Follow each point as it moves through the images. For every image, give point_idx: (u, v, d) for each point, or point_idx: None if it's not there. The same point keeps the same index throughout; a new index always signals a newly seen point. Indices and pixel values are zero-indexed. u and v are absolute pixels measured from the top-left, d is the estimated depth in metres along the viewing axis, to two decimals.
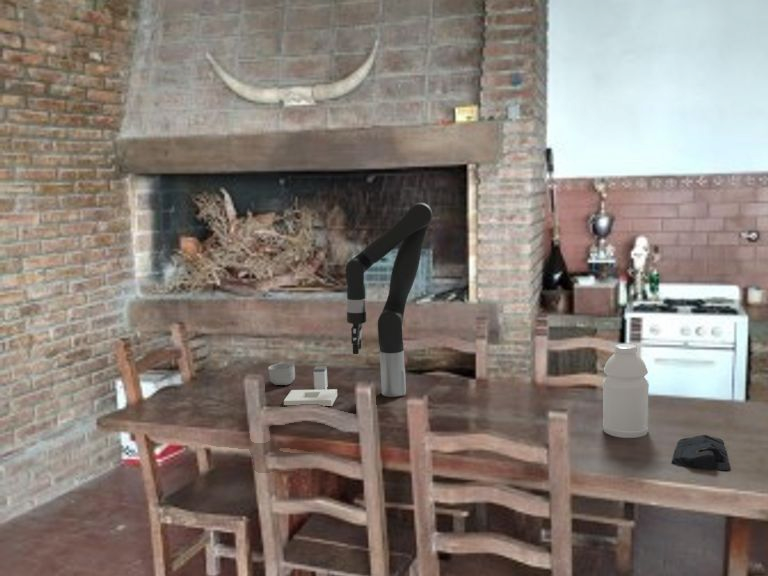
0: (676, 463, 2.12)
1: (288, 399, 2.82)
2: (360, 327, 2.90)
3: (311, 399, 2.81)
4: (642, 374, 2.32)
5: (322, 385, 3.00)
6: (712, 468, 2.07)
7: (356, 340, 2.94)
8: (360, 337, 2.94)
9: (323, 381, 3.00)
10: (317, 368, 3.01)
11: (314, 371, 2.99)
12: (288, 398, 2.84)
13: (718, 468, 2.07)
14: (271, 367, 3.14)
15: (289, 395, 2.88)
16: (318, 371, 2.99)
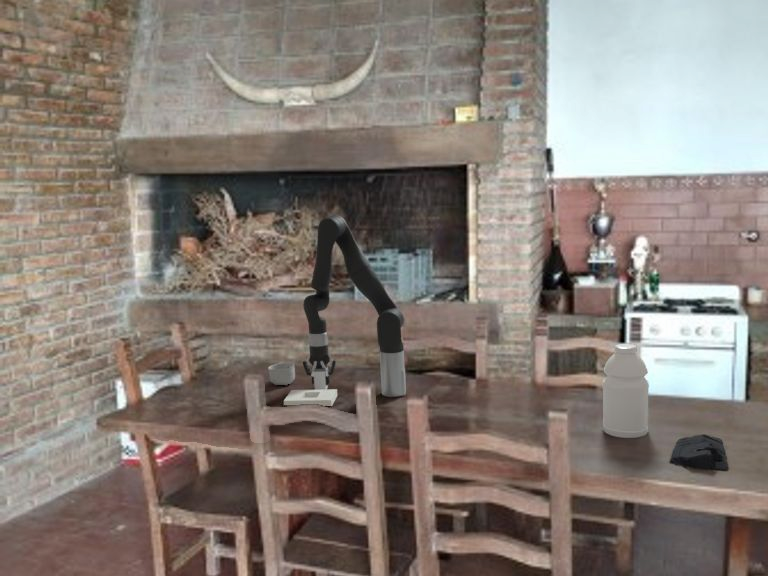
0: (674, 462, 2.13)
1: (288, 399, 2.82)
2: None
3: (311, 399, 2.81)
4: (642, 374, 2.32)
5: (322, 385, 3.00)
6: (710, 467, 2.07)
7: None
8: None
9: (323, 381, 3.00)
10: (317, 368, 3.01)
11: (314, 371, 2.99)
12: (288, 398, 2.84)
13: (716, 467, 2.07)
14: (271, 367, 3.14)
15: (289, 395, 2.88)
16: (318, 371, 2.99)
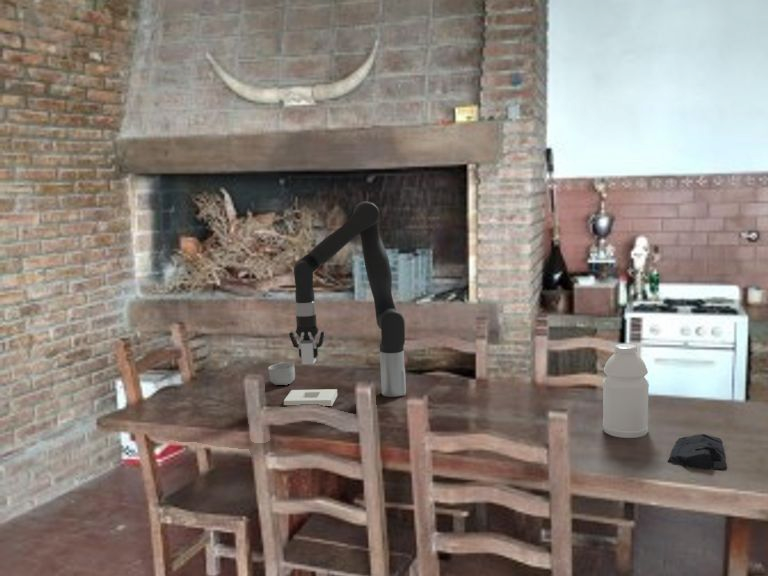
0: (672, 461, 2.13)
1: (288, 399, 2.82)
2: None
3: (311, 399, 2.81)
4: (642, 374, 2.32)
5: (310, 357, 2.82)
6: (708, 467, 2.08)
7: None
8: None
9: (311, 353, 2.82)
10: (304, 340, 2.83)
11: (301, 343, 2.81)
12: (288, 398, 2.84)
13: (714, 467, 2.08)
14: (271, 367, 3.14)
15: (289, 395, 2.88)
16: (305, 343, 2.81)
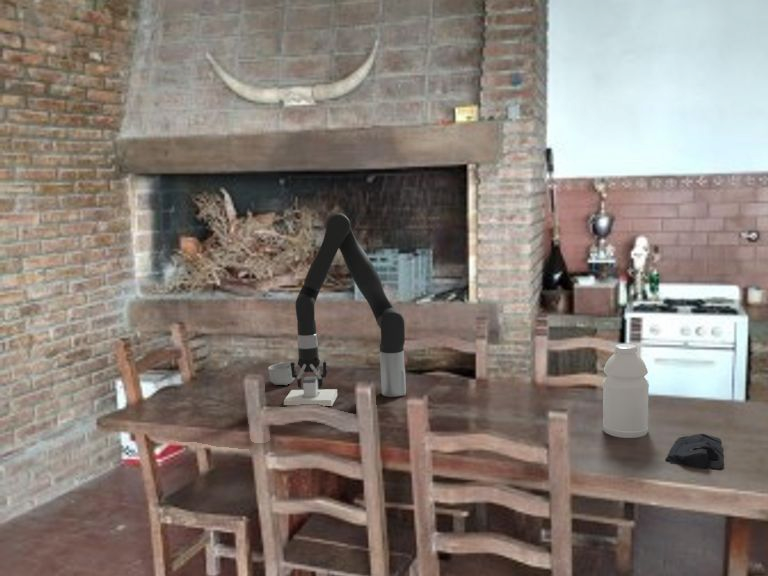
0: (670, 461, 2.14)
1: (288, 399, 2.82)
2: None
3: (311, 399, 2.81)
4: (642, 374, 2.32)
5: (312, 397, 2.84)
6: (705, 466, 2.08)
7: (300, 379, 2.86)
8: (301, 375, 2.87)
9: (313, 393, 2.84)
10: (307, 379, 2.85)
11: (304, 382, 2.84)
12: (288, 398, 2.84)
13: (711, 466, 2.08)
14: (271, 367, 3.14)
15: (289, 395, 2.88)
16: (308, 382, 2.84)
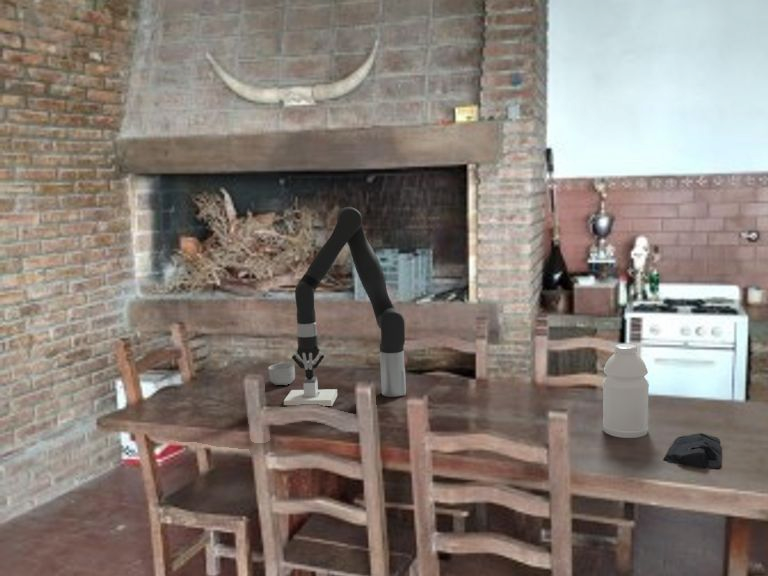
0: (668, 460, 2.15)
1: (288, 399, 2.82)
2: None
3: (311, 399, 2.81)
4: (642, 374, 2.32)
5: (312, 397, 2.84)
6: (702, 466, 2.09)
7: None
8: None
9: (313, 393, 2.84)
10: (307, 379, 2.85)
11: (304, 382, 2.84)
12: (288, 398, 2.84)
13: (708, 466, 2.09)
14: (271, 367, 3.14)
15: (289, 395, 2.88)
16: (308, 382, 2.84)
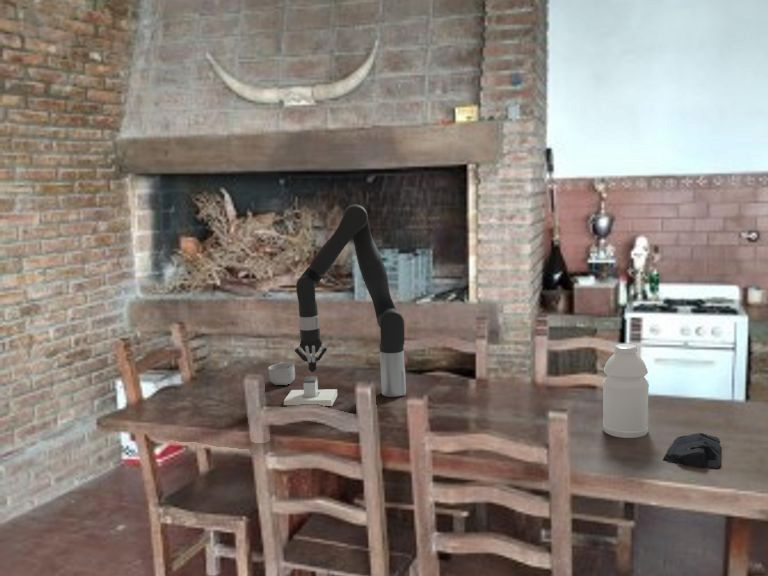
0: (667, 460, 2.15)
1: (288, 399, 2.82)
2: None
3: (311, 399, 2.81)
4: (642, 374, 2.32)
5: (312, 397, 2.84)
6: (702, 465, 2.09)
7: None
8: None
9: (313, 393, 2.84)
10: (307, 379, 2.85)
11: (304, 382, 2.84)
12: (288, 398, 2.84)
13: (708, 465, 2.09)
14: (271, 367, 3.14)
15: (289, 395, 2.88)
16: (308, 382, 2.84)
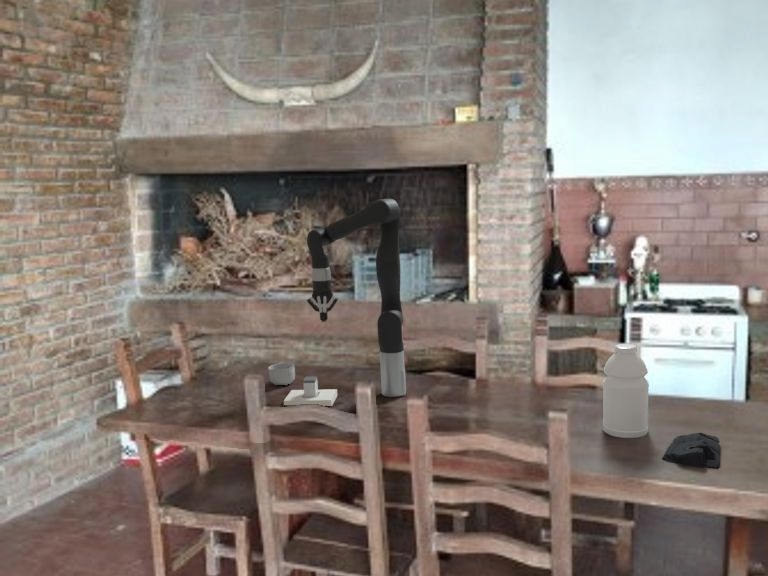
0: (666, 459, 2.15)
1: (288, 399, 2.82)
2: None
3: (311, 399, 2.81)
4: (642, 374, 2.32)
5: (312, 397, 2.84)
6: (701, 465, 2.09)
7: (323, 313, 3.02)
8: None
9: (313, 393, 2.84)
10: (307, 379, 2.85)
11: (304, 382, 2.84)
12: (288, 398, 2.84)
13: (707, 465, 2.09)
14: (271, 367, 3.14)
15: (289, 395, 2.88)
16: (308, 382, 2.84)
